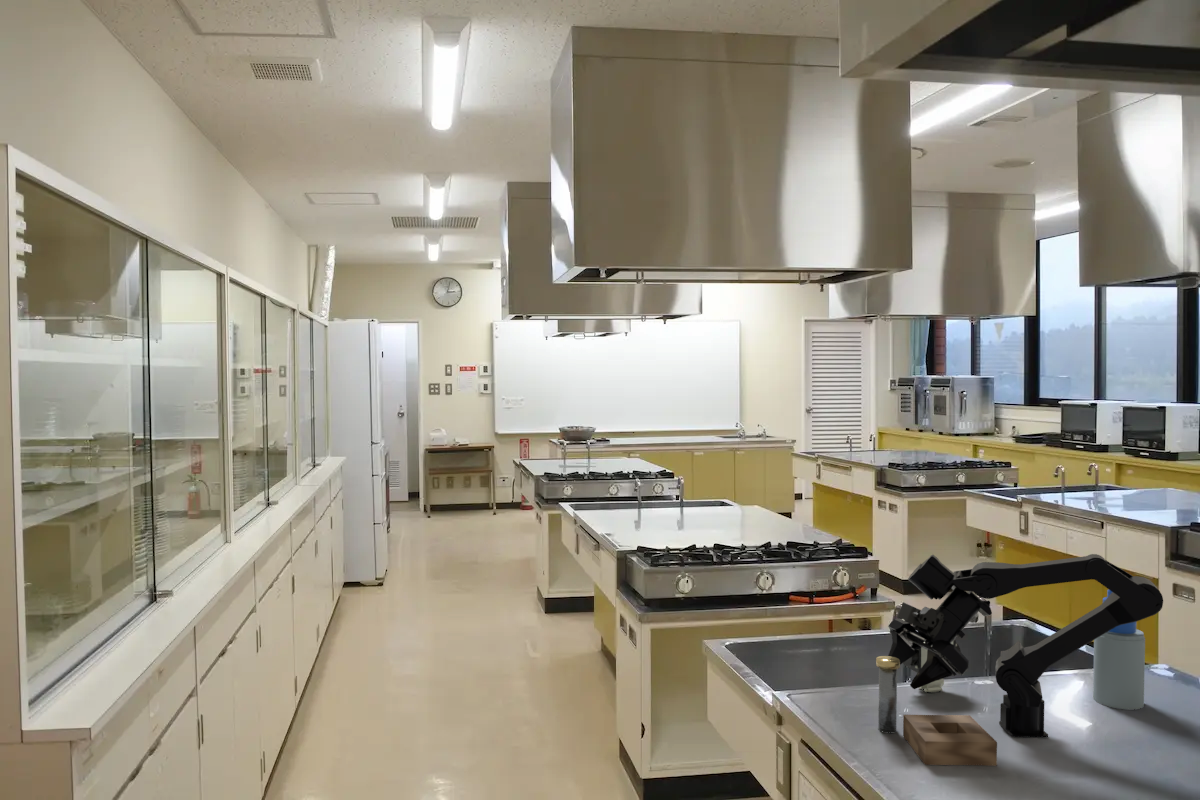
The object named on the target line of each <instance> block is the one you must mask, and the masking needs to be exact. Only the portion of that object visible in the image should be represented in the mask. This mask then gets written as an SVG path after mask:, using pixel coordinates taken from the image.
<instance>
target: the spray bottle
mask: <svg viewBox="0 0 1200 800" xmlns="http://www.w3.org/2000/svg"><path fill="white" fill-rule="evenodd" d="M1106 591H1107V592H1106V593H1107V594H1106V595H1107V596H1105V597H1103V598H1102V603H1103V602H1104V601H1105V600H1106V599H1107V598H1108V597H1109V595H1110V594H1111V593H1112V591H1110V590H1109V589H1107V590H1106ZM1145 661H1146V637H1145V634H1144V631H1141V629H1140V630H1139V629H1137V622H1132V623H1128V624H1123V625H1119V626H1117V627H1115V628H1113V629H1111V630H1110V631H1108V632H1106V633H1105V634H1103V635H1101V636H1100V637H1098V638H1096V639H1095V640H1093V675H1092V676H1093V683H1092V684H1093V687H1092V688H1093V691H1092V699H1093V700H1094V701H1095V702H1096V703H1098V704H1100V705H1103V706H1106V707H1109V708H1113V709H1118V710H1119V709H1120V710H1126V711H1128V710H1132V711H1134V709H1135V710H1140V708H1141V709H1143V708H1144V706H1145V674H1146V673H1145V667H1146V666H1145V663H1146V662H1145Z"/></svg>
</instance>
